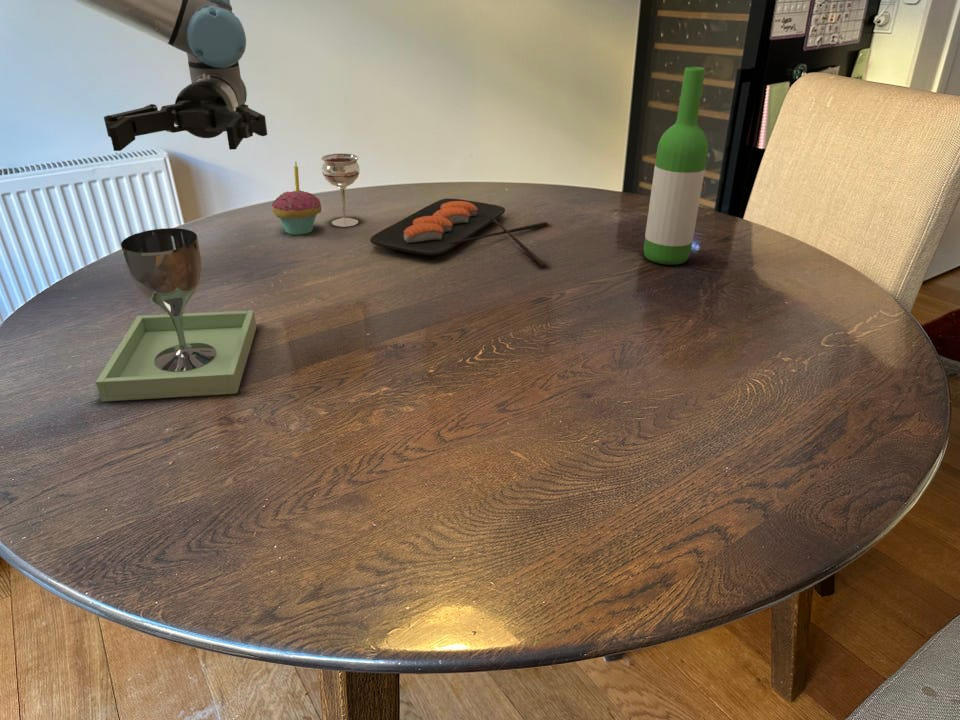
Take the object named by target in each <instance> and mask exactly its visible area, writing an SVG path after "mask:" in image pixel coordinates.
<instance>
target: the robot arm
mask: <svg viewBox="0 0 960 720" xmlns="http://www.w3.org/2000/svg"><path fill="white" fill-rule="evenodd" d="M72 1H73V2H75V3H77V4H80V5H81V6H84V7H87V8H89V9H90V10H93V11H95V12H97V13H100V14H102V15H103V16H106V17H108V18H110V19H113V20H115V21H117V22H119V23H122V24H124V25H125V26H128V27H130V28H133V29H134V30H137V31H139V32H141V33H143V34H146V35H148V36H150V37H152V38H154V39H157V40H159V41H161V42H163V43H165V44H167V45H169V46H171V47H173V48H175V49H177V50H179V51H182V52H183V53H186V55H187V62H188V63H187V65H188V71H189V75H190V82H191V83H190V84H188V85H186V87H183V88H182V89H181V91H180V92H179V93H178V94H177V96H176V99H175V102H174V103H173V104H166V105H162V106H161V108H160V110H159V108H158V106H157V104H154V103H149V104H148V105H146V106H143V107H140V108H136V109H135V108H134V109H130V110H126V111H122V112H117V113H114V114H113V113H112V114H106V115H105V116H103V120H104V124H105V129H106V132H107V137H109V138H110V141H111V144H112V148H113V151H114V152H121V151H123V150H124V149H125V148H126V147H127V146H129V145H131V144H132V143H133V142H134V141H135V140H136V137H138V136H145V135H148V134H149V135H150V134H155V133H160V132H165V131H166V132H168V133H171V134H173V133H180V132H188V134H190V135H192V136H194V137H197V138H200V139H212V138H216V137H219V136H220V135H221V134H223V133H224V132H226V136H227V142H228V143H227V144H228V149H229V150H230V151H231V150H237V148H238V147H239V146H240V144H241V142H242V141H243V140H244V139H249V138H251V137H253V136H254V134H255V135H257V136H260V137H266V136H268V128H267V119H266V115H264V114H262V113H260V112H258V111H257V110H254V109H252V108H250V107H249V104H246V102H247V96H248V94H247V93H248V90H247V87H246V84H245V82H244V80H243V79H242V77H241V70H240V69H241V68H240V64H239V61H240V60H241V59H242V57H243V56H244V54H245V52H246V47H247V37H246V31H245V29H244V28H245V27H244V25H243V24H242V22H241V20H240V19H239V17H237V16H236V14H235V13H234V12H233V6H232V4H231V0H72Z"/></svg>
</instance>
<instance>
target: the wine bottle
mask: <svg viewBox="0 0 960 720" xmlns="http://www.w3.org/2000/svg"><path fill="white" fill-rule="evenodd" d="M705 75H706V68H704V67H701V66H686V67H685V68H684V71H683V78H682V84H681V91H680V98H679V104H678V111H677V117H676V120H675V123H674V124H673V125H671V126H670V127H669V128H667V129H666V130H665V131H664V132H663V133H662V135H661V137H660V139H659V141H658V144H657V148H656V156H655V163H654V169H653V175H652V182H651V190H650V198H649V203H648V213H647V219H646V227H645V231H644V232H645V234H644V241H643V255H644V257H645V258H646V260H649V261H650V262H651V263H655V264H657V265H658V264H659V265H664V266H676V265H677V266H678V265H681V264H684V263H686V262H687V261H688V260H689V258H690V257H691V253H692V252H691V251H692V248H693V247H692V246H693V241H694V237H695V236H694V235H695V230H696V225H697V224H696V223H697V219H698V212H699V207H700V201H701V195H702V189H703V183H704V178H705V172H706V164H707V161H708V160H707V159H708V155H709V154H708V153H709V142H708V139H707V136H706V134H705V132H704V130H703V129H702V128H701V127H700V126H699V124H698V118H699V111H700V105H701V98H702V93H703V87H704V80H705Z"/></svg>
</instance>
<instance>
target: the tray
mask: <svg viewBox="0 0 960 720" xmlns="http://www.w3.org/2000/svg"><path fill="white" fill-rule="evenodd" d="M183 330H184V336H185V341H186V343H204V344H208V345H210V346H212V347H213V348H214V349H215V350H216V356H215V358H214V359H213V360H212V361H211V362H209V363H208V364H206V365H204V366H202V367H199V368H196V369H193V370H188V371H181V372H170V371H164V370H161V369H159V368H157V367H156V366H155V364H154V360H155V357H156V356H157V355H158V354H159V353H160V352H162V351H163V350H165V349H167V348H170V347H172V346H175V345H179V341H178V337H177V333H176V330H175V327H174V324H173V322H172V319H171V317H170V316H169V315H168V313H166V314H165V313H163V314H146V315H145V314H143V315H141V314H140V315H137V316H136V317H135V319H134V321H133V322H132V324H131V326H130V327H129V329H128V330H127V331H126V333H125V335H124V337H123V338H122V340H121V341H120V343H119V345H117V347H116V349H115V351H114V353H112V355H111V357H110V359H109V360H108V362H107V363H106V364H105V367H104V368H103V369H102V371H101V373H100V375H99V376H98V378H97V379H96V381H95V385H96V388H97V391H98V395H99V398H100V401H101V402H103V403H104V402H118V401H137V400H152V399H153V400H154V399H169V398H171V399H172V398H186V397H188V398H189V397H202V396H203V397H204V396H220V395H221V396H222V395H236V394H238V392H239V388H240V385H241V382H242V378H243V376H244V373H245V372H244V371H245V368H246V365H247V362H248V358H249V355H250V351H251V349H252V344H253V341H254V338H255V335H256V331H257V321H256V315H255V310H233V311H231V310H230V311H211V312H192V313H191V312H188V313H183Z"/></svg>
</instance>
